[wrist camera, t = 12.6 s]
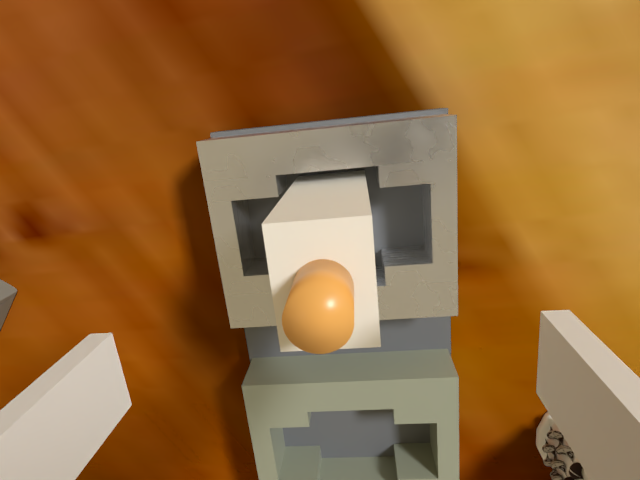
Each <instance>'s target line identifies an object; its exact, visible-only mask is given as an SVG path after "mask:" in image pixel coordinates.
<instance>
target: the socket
mask: <svg viewBox="0 0 640 480" xmlns="http://www.w3.org/2000/svg"><path fill="white" fill-rule="evenodd" d="M196 144H197V150H198V155H199V161H200V166H201V171H202V177H203V182H204V187H205V193H206V198H207V204H208V209H209V214H210V220H211V225H212V231H213V236H214V241H215V247H216V252H217V258H218V263H219V268H220V274H221V279H222V284H223V290H224V295H225V301H226V306H227V311H228V317H229V322H230V328H246V327H264V326H277V325H276V318H275V311H274V305H273V298H272V291H271V285H270V278H269V271H268V264H267V258H266V257H259V258H256V257H255V251H254V245H253V238H252V232H251V225H250V219H249V213H248V206H247V199H258V198H270V197H279V195H280V194H281V193H282V192H283V190H284V189H285V188H286V187H287V183H286V175H285V174H296V173H306V172H317V171H328V170H339V169H350V168H361V167H371V166H376V175H377V181H378V184H379V187H380V188H384V187H396V186H407V185H419V184H422V203H423V235H424V246H410V247H397V248H383V249H381V254H382V266H376V280H377V295H378V310H379V320H391V319H409V318H427V317H445V316H458V245H457V115H452V114H435V115H425V116H416V117H406V118H396V119H387V120H377V121H367V122H358V123H348V124H338V125H329V126H319V127H309V128H299V129H290V130H280V131H270V132H261V133H251V134H241V135H232V136H222V137H214V138H209V139H205V140H201V141H197V142H196Z"/></svg>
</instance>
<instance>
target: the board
mask: <svg viewBox="0 0 640 480" xmlns="http://www.w3.org/2000/svg"><path fill="white" fill-rule="evenodd" d="M435 114H448V108H438V109H429V110H419V111H410V112H400V113H391V114H381V115H371V116H362V117H352V118H343V119H333V120H324V121H314V122H304V123H295V124H285V125H276V126H266V127H257V128H247V129H238V130H228V131H218V132H213V133H210V135H211V138H214V137H222V136H232V135H241V134H251V133H261V132H270V131H280V130H290V129H299V128H309V127H319V126H329V125H338V124H348V123H358V122H367V121H377V120H387V119H396V118H406V117H416V116H425V115H435ZM363 170H365V176H366V182H367V188H368V194H369V200H370V206H371V212H372V222H373V236H374V251H375V266H382V254H381V249H383V248H397V247H410V246H424V235H423V203H422V184H419V185H407V186H396V187H384V188H380V187H379V184H378V181H377V175H376V166H371V167H361V168H350V169H339V170H328V171H317V172H306V173H296V174H285V175H286V183H287V187H286V188H285V189H284V190H283V192H282V193H281V194H280V195H279V197H270V198H258V199H247V206H248V213H249V219H250V225H251V232H252V238H253V245H254V251H255V257H256V258H259V257H266V251H265V244H264V238H263V231H262V223H263V221H264V220H265V219H266V218H267V216H268V215H269V214H270V212H271V211H272V210H273V208H274V207H275V206H276V204H277V203H278V202H279V201H280V199H281V198H282V197H283V195H284V194H285V193H286V191H287V190H288V189H289V187H290V186H291V185H292V184H293V182H294V181H295V180H296V178H297V177H298V176H308V175H319V174H330V173H341V172H352V171H363ZM379 324H380V339H381V347H372V348H352V349H338V350H336V351H333V352H331V353H326V354H345V353H366V352H387V351H408V350H429V349H448V351H449V354H450V356H451V316H445V317H427V318H409V319H391V320H379ZM244 330H245V335H246V341H247V347H248V353H249V358H250V363H251V361H252V358H262V357H283V356H304V355H324V354H313V353H308V352H305V351H290V352H280V345H279V338H278V331H277V326H264V327H246V328H244ZM283 434H284V441H285V447H286V446H320V449H321V457H322V458H344V457H388V456H394V444H402V443H430V423H421V424H394V416H393V409H381V410H351V411H322V412H311V419H310V426H309V427H289V428H283Z"/></svg>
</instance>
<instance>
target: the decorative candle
mask: <svg viewBox="0 0 640 480" xmlns="http://www.w3.org/2000/svg"><path fill="white" fill-rule="evenodd" d="M536 447H537V449H538V451H539V453H540V455H541V456H542V458H543V463H544V465H545V466H550V467H552V468H553V471H552V472H550V477H551V479H552V480H590V479H589V477H588V475H587V474H586V472H585V470H584V469H583V467H582V466H581V464H580V462H579V461H578V459H577V458H576V456H575V454H574V453H573V451H572V449H571V448H570V446H569V445H568V443H567V441H566V440H565V438H564V437H563V435H562V433H561V432H560V430H559V428H558V427H557V425H556V424H555V422H554V420H553V419H552V417H551V416H550V414H549V412H548V411H547V412H546V413H545V414H544V416H543V418H542V420H541V421H540V423H539V425H538V427H537V429H536Z"/></svg>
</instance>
